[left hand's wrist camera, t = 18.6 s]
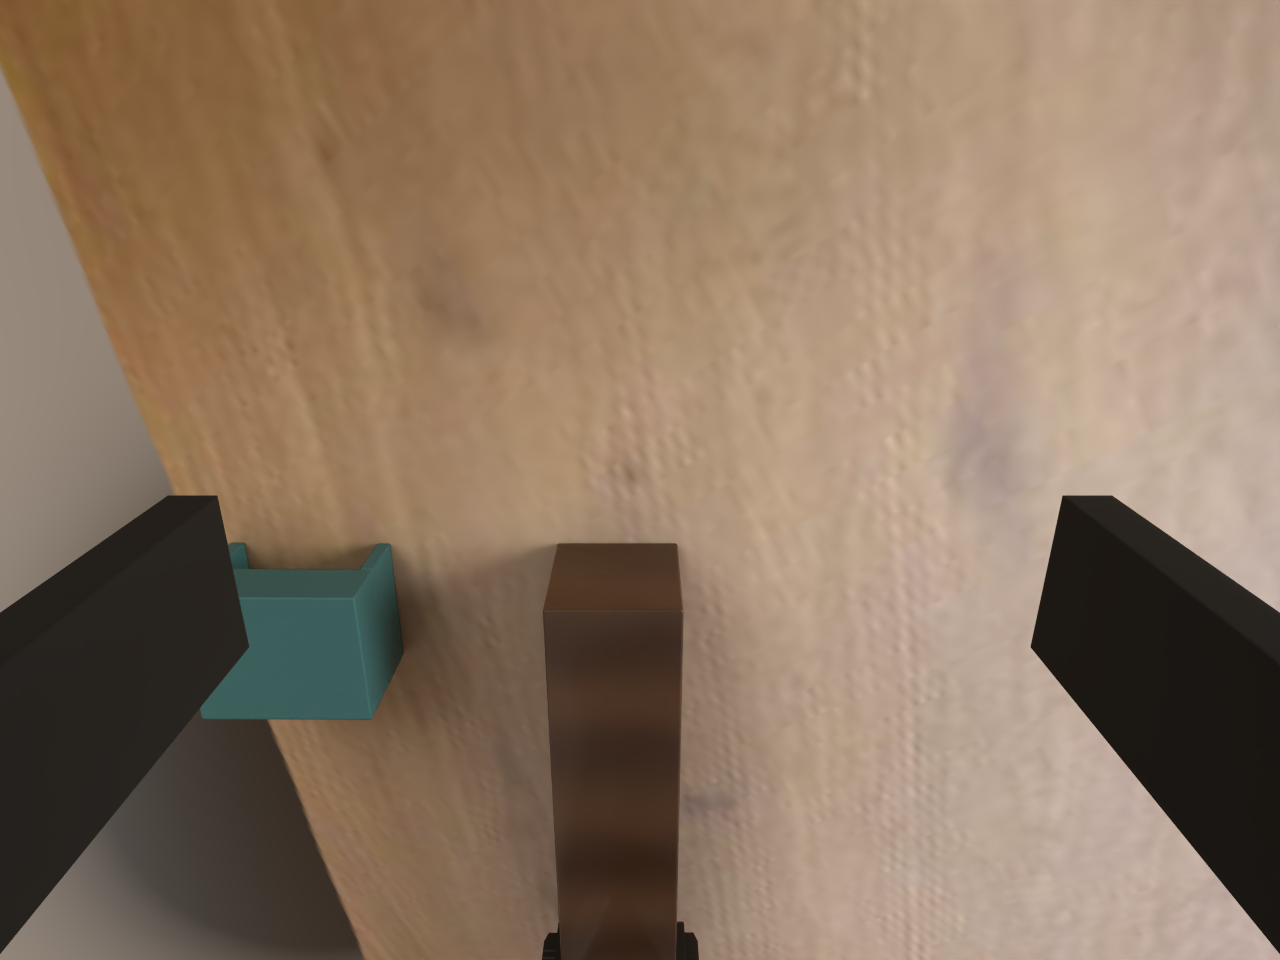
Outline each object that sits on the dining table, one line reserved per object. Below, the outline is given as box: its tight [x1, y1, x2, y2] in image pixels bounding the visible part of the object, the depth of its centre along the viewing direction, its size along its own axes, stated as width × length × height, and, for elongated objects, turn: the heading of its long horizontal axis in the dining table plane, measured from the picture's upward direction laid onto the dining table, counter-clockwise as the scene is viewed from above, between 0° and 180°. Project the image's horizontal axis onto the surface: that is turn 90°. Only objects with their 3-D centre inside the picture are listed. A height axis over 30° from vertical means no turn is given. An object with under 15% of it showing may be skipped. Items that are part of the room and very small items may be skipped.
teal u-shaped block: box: [200, 543, 403, 720], centre depth 35 cm, size 6×7×5 cm
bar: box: [543, 544, 683, 960], centre depth 38 cm, size 26×6×6 cm, turn 0°
